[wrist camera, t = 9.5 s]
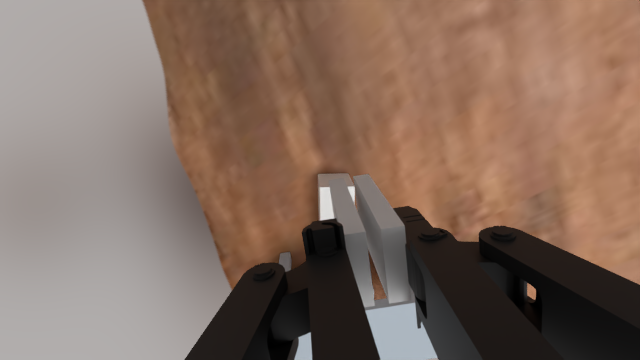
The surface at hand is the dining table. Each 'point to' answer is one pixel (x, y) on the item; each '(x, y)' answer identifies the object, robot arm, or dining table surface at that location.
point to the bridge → (384, 329)
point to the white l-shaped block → (325, 195)
